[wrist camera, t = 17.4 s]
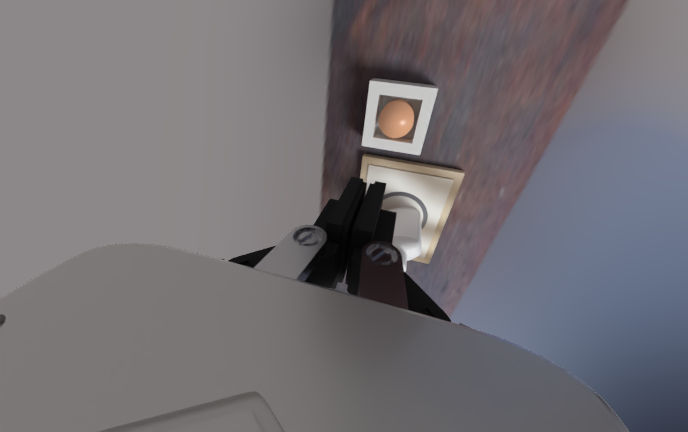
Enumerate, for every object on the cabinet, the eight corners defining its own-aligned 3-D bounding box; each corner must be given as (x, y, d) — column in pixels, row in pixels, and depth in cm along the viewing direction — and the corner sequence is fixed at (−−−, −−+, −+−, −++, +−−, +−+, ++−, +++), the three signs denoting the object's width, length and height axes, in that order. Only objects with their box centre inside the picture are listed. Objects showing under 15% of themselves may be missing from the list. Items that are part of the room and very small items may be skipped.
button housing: (420, 147, 31) (420, 155, 28) (366, 138, 32) (361, 145, 30) (436, 85, 27) (438, 88, 24) (374, 78, 28) (369, 80, 26)
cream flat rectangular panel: (428, 259, 40) (428, 265, 39) (352, 241, 42) (350, 246, 41) (463, 170, 31) (465, 174, 30) (364, 153, 33) (362, 156, 32)
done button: (410, 135, 29) (409, 140, 27) (378, 130, 30) (376, 135, 28) (418, 100, 27) (417, 104, 25) (384, 96, 28) (381, 99, 26)
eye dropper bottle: (388, 198, 34) (375, 254, 25) (425, 211, 34) (428, 274, 24) (378, 221, 37) (363, 280, 27) (413, 234, 37) (410, 298, 27)
